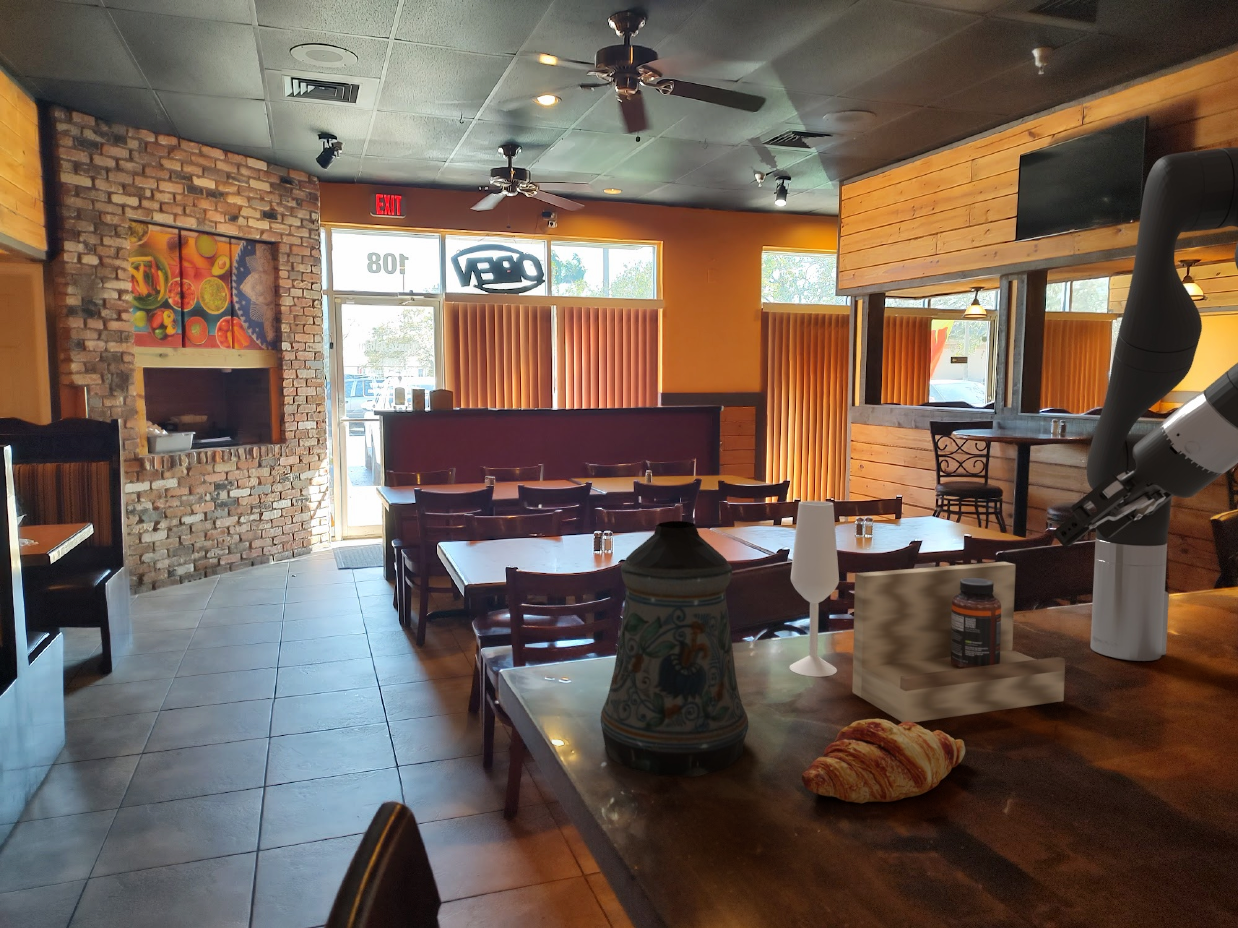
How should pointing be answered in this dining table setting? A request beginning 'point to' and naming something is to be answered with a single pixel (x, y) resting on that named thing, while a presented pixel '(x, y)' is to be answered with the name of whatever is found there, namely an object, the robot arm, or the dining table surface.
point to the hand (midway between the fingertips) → (1080, 535)
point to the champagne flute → (814, 573)
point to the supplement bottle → (975, 625)
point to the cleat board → (939, 647)
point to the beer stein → (675, 661)
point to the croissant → (883, 762)
